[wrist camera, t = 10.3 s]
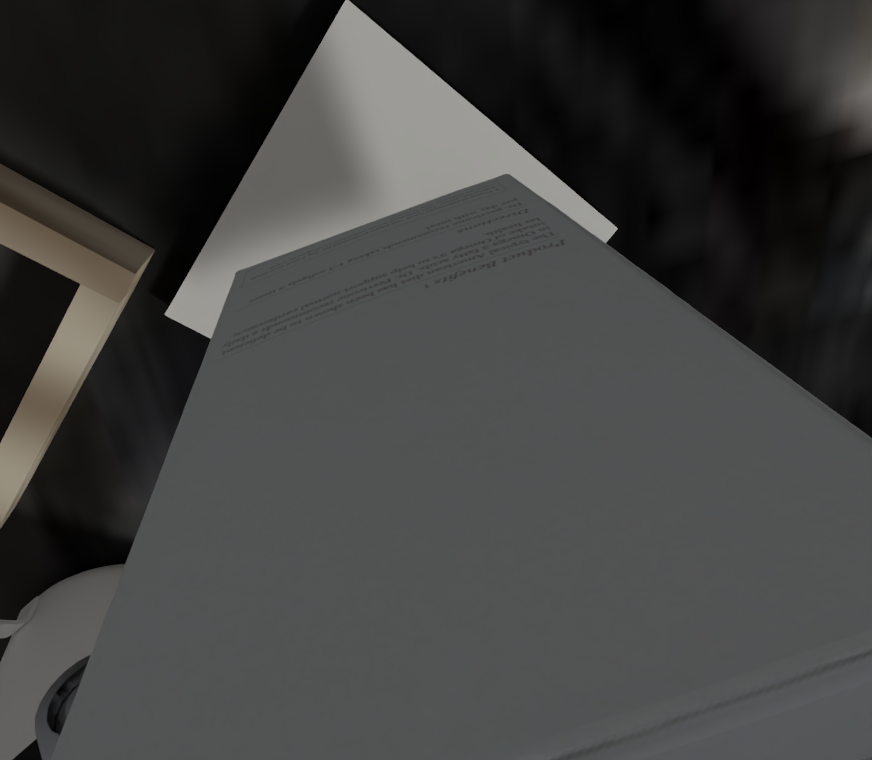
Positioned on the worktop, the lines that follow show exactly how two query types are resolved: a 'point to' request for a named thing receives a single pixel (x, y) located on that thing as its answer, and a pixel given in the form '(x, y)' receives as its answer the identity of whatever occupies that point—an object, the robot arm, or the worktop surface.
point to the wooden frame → (83, 322)
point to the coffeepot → (48, 647)
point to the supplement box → (487, 520)
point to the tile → (358, 161)
